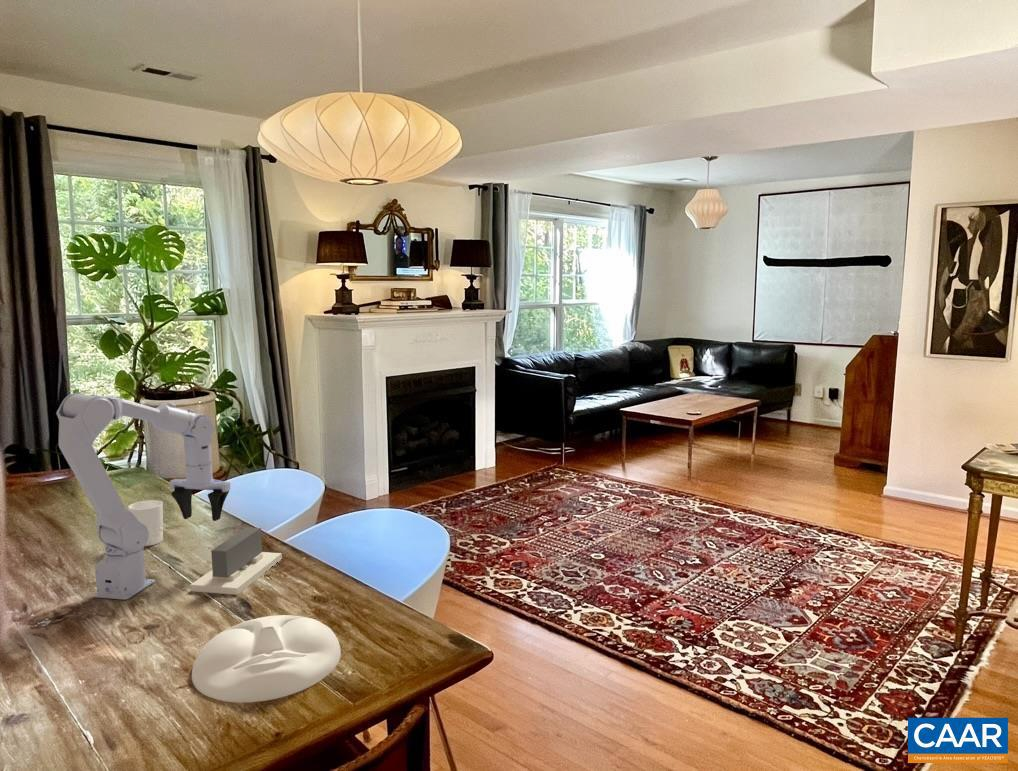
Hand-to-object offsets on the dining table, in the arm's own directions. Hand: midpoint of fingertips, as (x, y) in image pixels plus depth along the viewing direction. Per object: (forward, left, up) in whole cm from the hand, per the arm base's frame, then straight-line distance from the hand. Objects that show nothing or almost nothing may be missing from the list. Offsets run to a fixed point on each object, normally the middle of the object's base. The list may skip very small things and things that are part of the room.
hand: (202, 518), depth 168 cm
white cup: (+9, +21, -11) cm, 25 cm away
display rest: (-6, -13, -10) cm, 18 cm away
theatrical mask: (-40, -38, -11) cm, 56 cm away
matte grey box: (-6, -13, -8) cm, 16 cm away
